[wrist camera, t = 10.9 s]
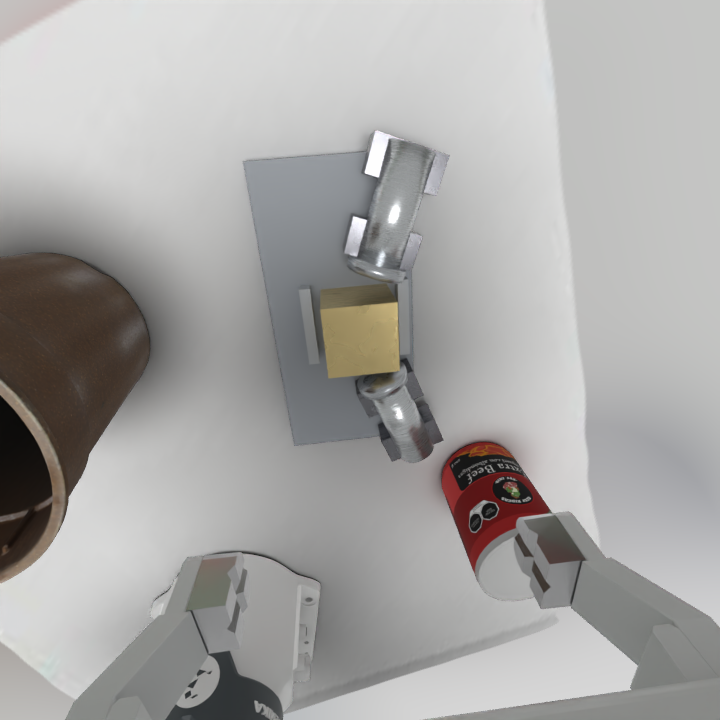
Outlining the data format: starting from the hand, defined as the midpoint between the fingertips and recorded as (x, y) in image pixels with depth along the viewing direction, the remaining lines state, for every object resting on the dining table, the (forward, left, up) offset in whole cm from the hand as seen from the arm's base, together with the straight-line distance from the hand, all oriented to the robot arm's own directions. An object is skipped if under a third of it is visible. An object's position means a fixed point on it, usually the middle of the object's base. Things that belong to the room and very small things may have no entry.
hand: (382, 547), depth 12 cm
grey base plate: (0, -1, -22) cm, 22 cm away
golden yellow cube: (0, -1, -21) cm, 21 cm away
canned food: (-18, -12, -22) cm, 31 cm away
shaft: (-8, -4, -21) cm, 23 cm away
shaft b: (+8, -4, -22) cm, 24 cm away
